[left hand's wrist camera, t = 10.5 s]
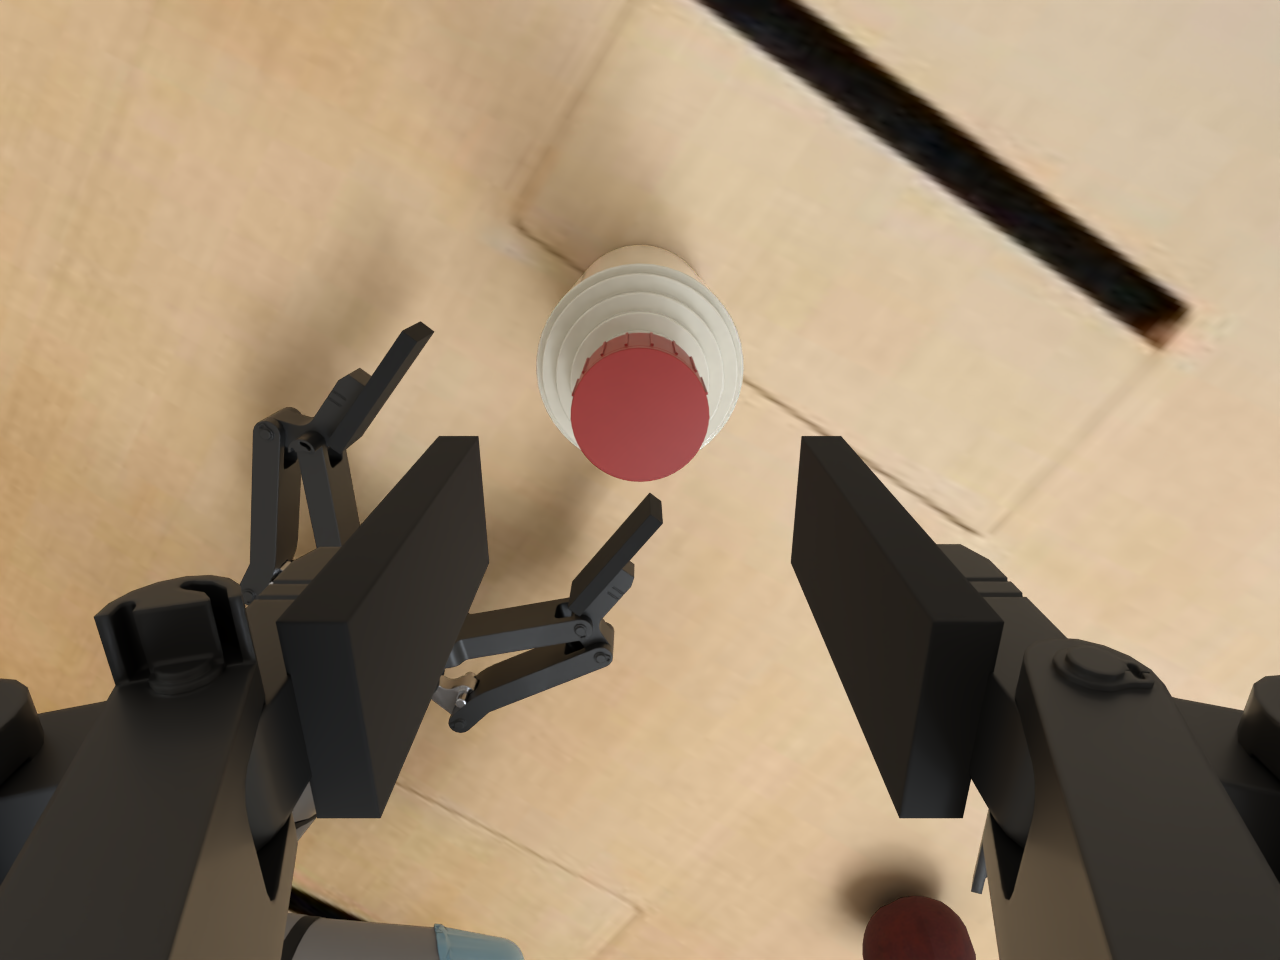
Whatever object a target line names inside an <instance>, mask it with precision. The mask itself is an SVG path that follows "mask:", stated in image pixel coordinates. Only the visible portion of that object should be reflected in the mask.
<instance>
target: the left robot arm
mask: <svg viewBox="0 0 1280 960" xmlns="http://www.w3.org/2000/svg"><path fill="white" fill-rule="evenodd" d="M488 564H489V555H488V544H487V532H486V520H485V508H484V497H483V485H482V473H481V461H480V450H479V438H478V436H439V437H438V438H437V439H436V440H435V441H434V442H433V444H432V445H431V446H430V447H429V448H428V449H427V450H426V451H425V453H424V454H423V455H422V456H421V457H420V458H419V459H418V461H417V462H416V463H415V464H414V465H413V466H412V467H411V469H410V470H409V471H408V472H407V473H406V474H405V475H404V476H403V478H402V479H401V480H400V481H399V482H398V483H397V484H396V486H395V487H394V488H393V489H392V490H391V491H390V492H389V493H388V495H387V496H386V497H385V498H384V499H383V500H382V501H381V503H380V504H379V505H378V506H377V507H376V508H375V509H374V511H373V512H372V513H371V514H370V515H369V516H368V517H367V518H366V520H365V521H364V522H363V523H362V524H361V525H360V526H359V528H358V529H357V530H356V531H355V532H354V533H353V534H352V536H351V537H350V538H349V539H348V540H347V541H346V542H345V543H344V545H343V546H342V547H318V548H317V549H315V550H313V551H311V552H309V553H307V554H306V555H304V556H302V557H300V558H298V559H296V560H294V561H293V562H291V563H290V564H289V565H288V566H287V567H286V568H285V569H284V570H283V571H282V572H281V573H280V574H279V575H278V576H277V577H276V578H275V579H274V580H273V584H269V585H268V586H267V587H266V588H265V589H264V590H263V591H262V592H261V593H260V594H259V595H258V600H254V601H253V602H252V603H251V604H250V605H249V606H248V607H247V608H245V604H244V599H243V595H242V591H241V586H240V585H239V584H238V583H236V582H235V581H233V580H232V579H230V578H226V577H219V576H213V575H203V576H186V577H181V578H176V579H171V580H166V581H161V582H157V583H154V584H151V585H148V586H146V587H143V588H140V589H137V590H134V591H131V592H129V593H127V594H126V595H124V596H122V597H120V598H118V599H116V600H114V601H112V602H111V603H109V604H108V605H106V606H105V607H104V608H103V609H102V610H101V611H100V612H99V613H98V614H96V615H95V616H94V619H95V622H96V625H97V629H98V632H99V635H100V638H101V641H102V644H103V647H104V651H105V654H106V657H107V660H108V663H109V666H110V669H111V673H112V676H113V679H114V682H115V685H116V686H115V687H114V689H113V691H112V693H111V694H110V696H109V698H108V700H107V701H104V702H99V703H93V704H88V705H83V706H77V707H72V708H67V709H61V710H56V711H51V712H46V713H40V714H37V712H36V709H35V706H34V703H33V701H32V698H31V695H30V693H29V690H28V687H26V686H25V685H23V684H21V683H20V682H18V681H17V680H11V679H0V960H281V955H282V948H283V941H284V934H285V927H286V921H287V914H288V907H289V900H290V893H291V886H292V879H293V873H294V866H295V859H296V852H297V845H298V841H297V834H296V827H295V823H294V818H293V814H292V810H293V809H294V807H295V805H296V804H297V802H298V800H299V798H300V797H301V795H302V793H303V791H304V790H305V788H306V786H307V784H308V783H309V782H310V786H311V791H312V796H313V801H314V805H315V810H316V815H317V818H381V816H382V813H383V811H384V809H385V806H386V804H387V802H388V799H389V797H390V795H391V792H392V790H393V788H394V785H395V783H396V780H397V778H398V776H399V773H400V771H401V769H402V766H403V764H404V762H405V759H406V757H407V755H408V752H409V750H410V748H411V745H412V743H413V740H414V738H415V736H416V733H417V731H418V729H419V726H420V724H421V722H422V719H423V717H424V715H425V712H426V710H427V708H428V705H429V703H430V701H431V698H432V696H433V693H434V691H435V689H436V686H437V684H438V682H439V679H440V677H441V675H442V672H443V670H444V668H445V665H446V663H447V661H448V658H449V656H450V653H451V651H452V649H453V646H454V644H455V642H456V639H457V637H458V635H459V632H460V630H461V628H462V625H463V623H464V621H465V618H466V616H467V614H468V611H469V609H470V606H471V604H472V602H473V599H474V597H475V595H476V592H477V590H478V588H479V585H480V583H481V581H482V578H483V576H484V574H485V571H486V569H487V566H488ZM791 564H792V566H793V569H794V571H795V574H796V576H797V578H798V581H799V583H800V585H801V588H802V590H803V592H804V595H805V597H806V599H807V602H808V604H809V606H810V609H811V611H812V614H813V616H814V618H815V621H816V623H817V625H818V628H819V630H820V632H821V635H822V637H823V639H824V642H825V644H826V646H827V649H828V651H829V653H830V656H831V658H832V661H833V663H834V665H835V668H836V670H837V672H838V675H839V677H840V679H841V682H842V684H843V686H844V689H845V691H846V693H847V696H848V698H849V701H850V703H851V705H852V708H853V710H854V712H855V715H856V717H857V719H858V722H859V724H860V726H861V729H862V731H863V733H864V736H865V738H866V740H867V743H868V745H869V748H870V750H871V752H872V755H873V757H874V759H875V762H876V764H877V766H878V769H879V771H880V773H881V776H882V778H883V780H884V783H885V785H886V788H887V790H888V792H889V795H890V797H891V799H892V802H893V804H894V806H895V809H896V811H897V813H898V816H899V818H963V815H964V810H965V805H966V801H967V796H968V791H969V786H970V782H971V779H972V781H973V782H974V784H975V786H976V788H977V789H978V791H979V793H980V794H981V796H982V798H983V800H984V801H985V803H986V805H987V807H988V808H989V810H988V814H987V818H986V823H985V827H984V832H983V836H982V840H981V845H980V849H979V853H978V858H977V862H976V867H975V871H974V875H973V882H972V889H971V892H975V893H979V894H982V890H983V886H984V882H985V878H988V884H989V891H990V898H991V905H992V912H993V919H994V925H995V932H996V939H997V946H998V953H999V960H1280V675H1277V676H1265V677H1264V678H1262V679H1261V680H1259V681H1258V682H1256V683H1254V685H1253V687H1252V690H1251V693H1250V695H1249V698H1248V701H1247V703H1246V706H1245V709H1244V711H1242V710H1237V709H1232V708H1226V707H1221V706H1216V705H1210V704H1205V703H1200V702H1194V701H1189V700H1183V699H1178V698H1174V697H1172V696H1171V695H1170V693H1169V691H1168V690H1167V688H1166V686H1165V684H1164V683H1163V682H1162V681H1161V680H1160V679H1159V678H1158V677H1157V676H1156V675H1155V673H1154V672H1153V671H1152V670H1151V669H1149V668H1148V667H1146V666H1145V665H1143V664H1141V663H1140V662H1138V661H1137V660H1135V659H1134V658H1132V657H1130V656H1128V655H1126V654H1124V653H1121V652H1119V651H1116V650H1114V649H1111V648H1109V647H1107V646H1104V645H1100V644H1096V643H1092V642H1087V641H1083V640H1079V639H1067V638H1066V637H1065V636H1064V635H1063V634H1062V633H1061V631H1060V630H1059V629H1058V628H1057V627H1056V626H1055V625H1054V624H1053V623H1052V622H1051V621H1050V620H1049V619H1048V618H1047V617H1046V616H1045V615H1044V614H1043V613H1042V612H1041V611H1040V610H1039V609H1038V608H1037V607H1036V606H1035V605H1034V604H1033V603H1032V602H1031V601H1030V600H1029V599H1028V598H1027V597H1023V596H1022V592H1021V591H1020V590H1019V589H1018V588H1017V587H1016V586H1015V585H1014V584H1013V583H1012V582H1008V581H1007V577H1006V576H1005V575H1004V574H1003V573H1002V572H1001V571H1000V570H999V569H998V568H997V567H996V566H995V565H994V564H993V563H992V562H991V561H990V560H989V559H987V558H985V557H983V556H981V555H979V554H978V553H976V552H974V551H972V550H970V549H968V548H966V547H965V546H963V545H961V544H936V543H935V542H934V541H933V540H932V539H931V538H930V537H929V536H928V534H927V533H926V532H925V531H924V530H923V529H922V528H921V526H920V525H919V524H918V523H917V522H916V521H915V520H914V518H913V517H912V516H911V515H910V514H909V513H908V512H907V511H906V509H905V508H904V507H903V506H902V505H901V504H900V503H899V501H898V500H897V499H896V498H895V497H894V496H893V495H892V493H891V492H890V491H889V490H888V489H887V488H886V487H885V486H884V484H883V483H882V482H881V481H880V480H879V479H878V478H877V476H876V475H875V474H874V473H873V472H872V471H871V470H870V469H869V467H868V466H867V465H866V464H865V463H864V462H863V461H862V459H861V458H860V457H859V456H858V455H857V454H856V453H855V451H854V450H853V449H852V448H851V447H850V446H849V445H848V444H847V442H846V441H845V440H844V439H843V438H842V437H841V436H802V438H801V450H800V461H799V473H798V485H797V497H796V508H795V520H794V532H793V544H792V555H791Z"/></svg>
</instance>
